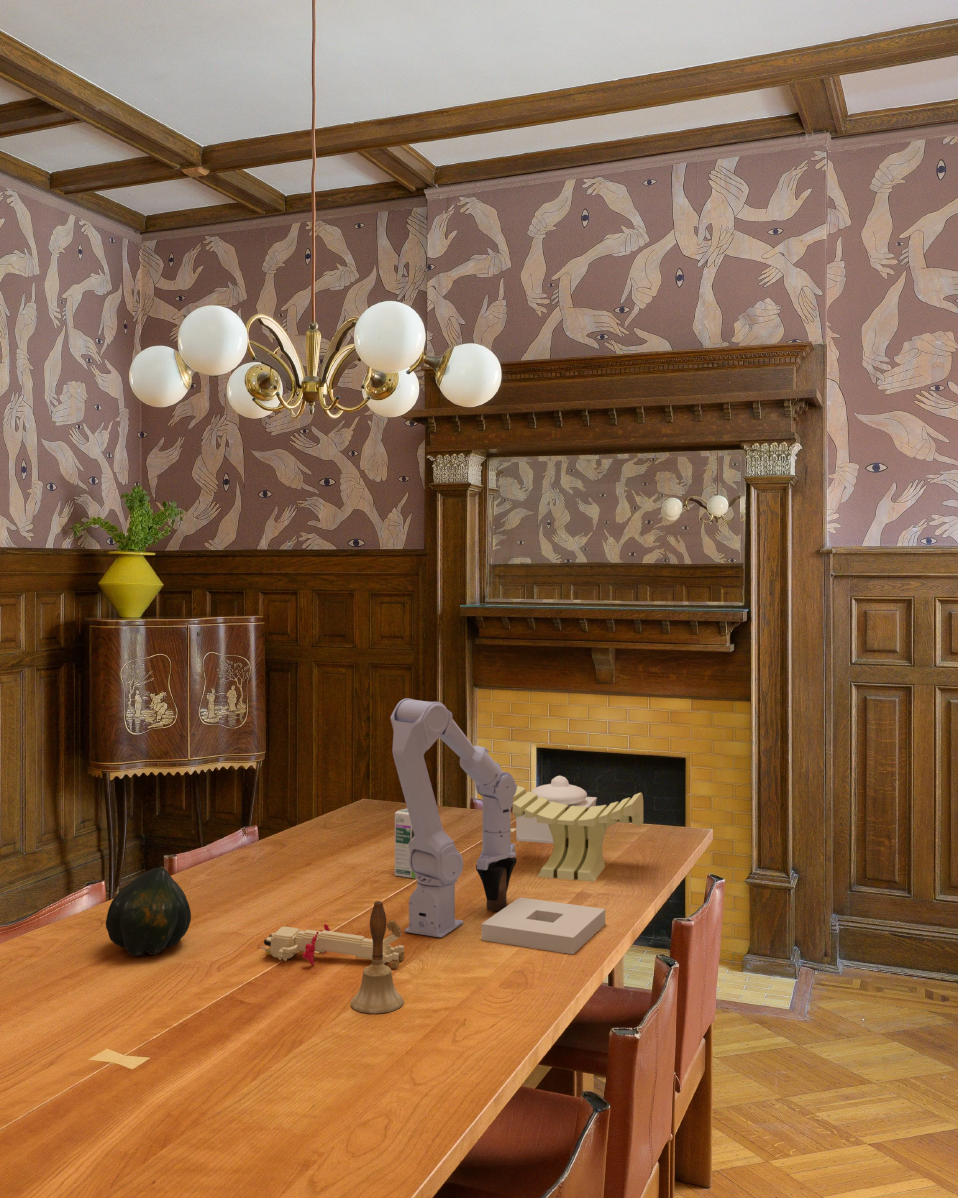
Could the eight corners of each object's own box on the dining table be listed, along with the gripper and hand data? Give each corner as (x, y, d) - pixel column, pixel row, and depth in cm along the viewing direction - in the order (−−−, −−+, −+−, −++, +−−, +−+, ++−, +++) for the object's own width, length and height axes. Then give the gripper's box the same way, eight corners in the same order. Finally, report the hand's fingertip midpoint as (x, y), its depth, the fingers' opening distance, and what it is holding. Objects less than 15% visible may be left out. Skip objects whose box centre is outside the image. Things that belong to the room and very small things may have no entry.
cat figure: (406, 962, 186) (273, 942, 190) (410, 914, 185) (277, 895, 190) (391, 983, 176) (252, 961, 180) (395, 932, 176) (256, 911, 180)
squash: (86, 936, 179) (147, 866, 182) (94, 914, 193) (150, 849, 196) (151, 985, 182) (210, 916, 184) (154, 959, 196) (209, 895, 199)
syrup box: (393, 876, 235) (393, 812, 235) (407, 869, 240) (407, 807, 240) (415, 879, 233) (415, 814, 232) (428, 873, 238) (428, 809, 238)
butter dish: (516, 841, 267) (516, 779, 267) (533, 826, 285) (533, 768, 284) (583, 846, 262) (583, 783, 262) (596, 830, 280) (596, 771, 279)
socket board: (573, 954, 185) (573, 937, 185) (481, 940, 193) (481, 924, 193) (605, 924, 201) (605, 909, 201) (519, 912, 209) (519, 897, 209)
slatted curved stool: (643, 866, 243) (643, 789, 243) (632, 884, 228) (632, 803, 228) (519, 856, 252) (519, 783, 252) (500, 873, 237) (500, 795, 237)
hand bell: (377, 989, 169) (376, 891, 169) (414, 1002, 164) (414, 901, 164) (339, 1005, 163) (339, 903, 163) (377, 1019, 158) (376, 914, 158)
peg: (501, 912, 208) (501, 873, 208) (483, 910, 210) (483, 870, 210) (509, 907, 212) (509, 868, 212) (491, 904, 214) (491, 865, 214)
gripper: (499, 839, 202) (500, 909, 203) (528, 824, 216) (528, 889, 216) (467, 836, 205) (467, 904, 206) (497, 821, 219) (497, 885, 219)
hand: (496, 896), depth 211 cm, fingers closed on peg, 4 cm apart
